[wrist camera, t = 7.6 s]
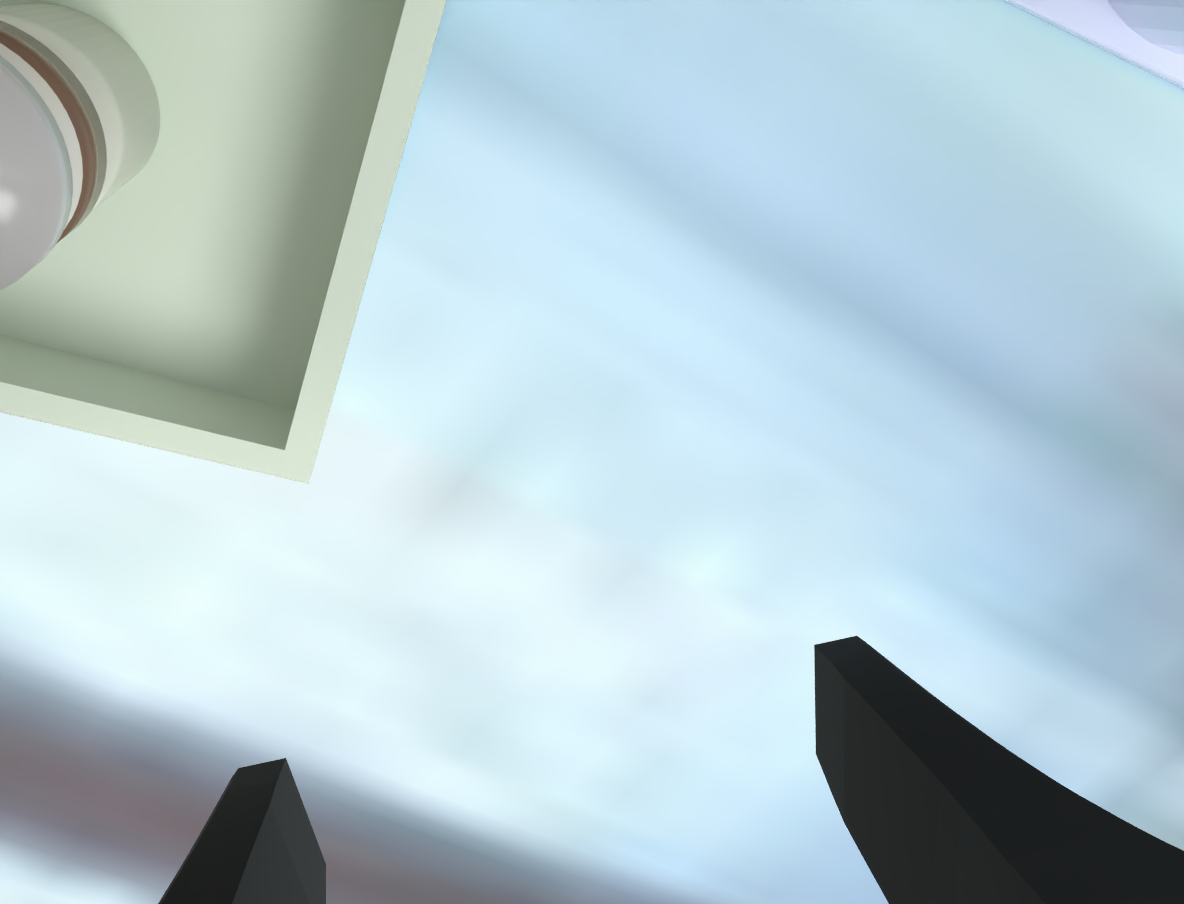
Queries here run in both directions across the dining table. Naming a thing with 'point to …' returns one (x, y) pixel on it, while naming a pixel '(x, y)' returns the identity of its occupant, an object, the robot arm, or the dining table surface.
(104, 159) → the cylinder
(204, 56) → the parts tray
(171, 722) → the dining table surface
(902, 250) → the dining table surface
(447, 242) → the dining table surface
